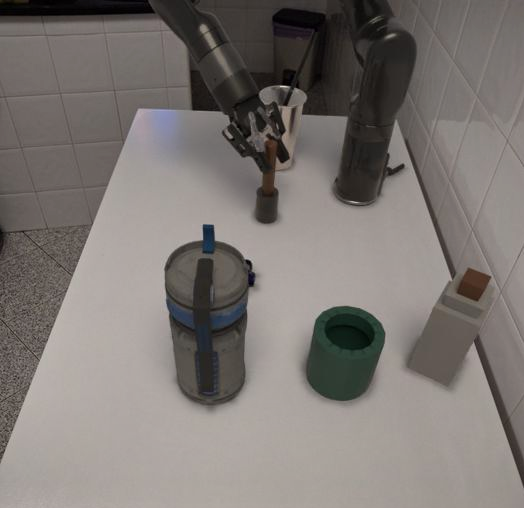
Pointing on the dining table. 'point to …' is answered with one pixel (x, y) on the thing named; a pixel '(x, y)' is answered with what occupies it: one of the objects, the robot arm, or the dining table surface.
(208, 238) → the beverage bottle
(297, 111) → the metal cup with utensils
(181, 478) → the dining table surface
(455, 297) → the perfume bottle
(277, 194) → the pestle
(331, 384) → the green tube segment
